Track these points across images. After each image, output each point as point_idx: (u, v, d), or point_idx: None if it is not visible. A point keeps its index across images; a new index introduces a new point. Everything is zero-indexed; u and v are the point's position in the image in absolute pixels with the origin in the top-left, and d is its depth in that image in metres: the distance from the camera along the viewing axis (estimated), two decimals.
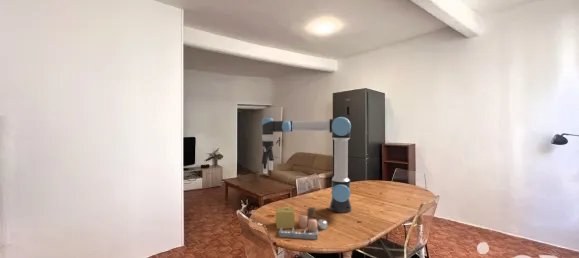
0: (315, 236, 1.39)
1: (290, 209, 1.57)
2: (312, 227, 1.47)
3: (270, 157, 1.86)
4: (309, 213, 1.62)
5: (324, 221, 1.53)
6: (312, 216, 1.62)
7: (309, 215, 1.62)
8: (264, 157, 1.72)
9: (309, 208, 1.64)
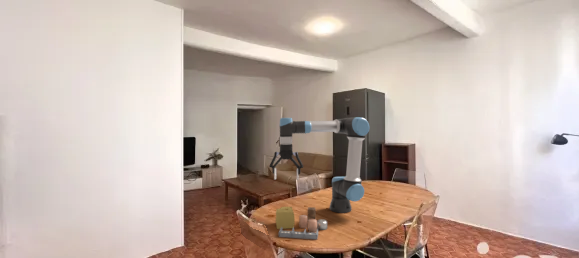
0: (315, 236, 1.39)
1: (290, 209, 1.57)
2: (312, 227, 1.47)
3: None
4: (309, 213, 1.62)
5: (324, 221, 1.53)
6: (312, 216, 1.62)
7: (309, 215, 1.62)
8: (272, 160, 1.58)
9: (309, 208, 1.64)
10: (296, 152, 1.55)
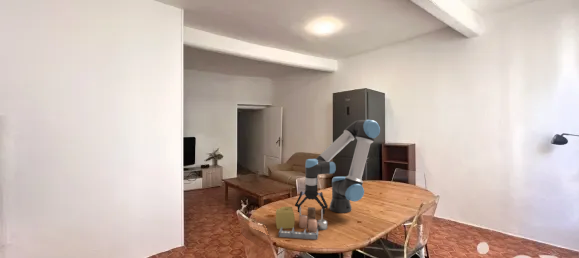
0: (315, 236, 1.39)
1: (290, 209, 1.57)
2: (312, 227, 1.47)
3: None
4: (309, 213, 1.62)
5: (324, 221, 1.53)
6: (312, 216, 1.62)
7: (309, 215, 1.62)
8: (297, 200, 1.65)
9: (309, 208, 1.64)
10: (321, 193, 1.61)
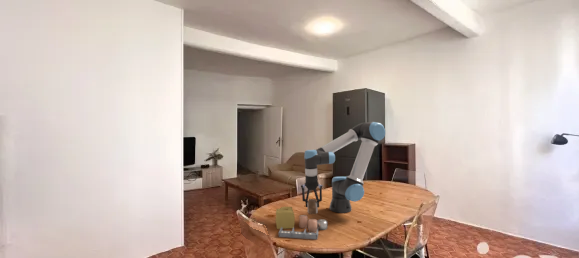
0: (315, 236, 1.39)
1: (290, 209, 1.57)
2: (312, 227, 1.47)
3: (315, 196, 1.63)
4: (310, 205, 1.62)
5: (324, 221, 1.53)
6: (313, 208, 1.62)
7: (310, 207, 1.62)
8: (302, 194, 1.65)
9: (310, 200, 1.64)
10: (321, 186, 1.61)
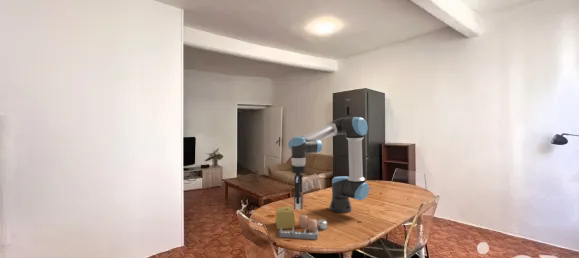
0: (315, 236, 1.39)
1: (290, 209, 1.57)
2: (312, 227, 1.47)
3: (299, 188, 1.46)
4: (302, 198, 1.43)
5: (324, 221, 1.53)
6: (302, 201, 1.45)
7: (302, 200, 1.43)
8: (297, 190, 1.38)
9: None
10: None
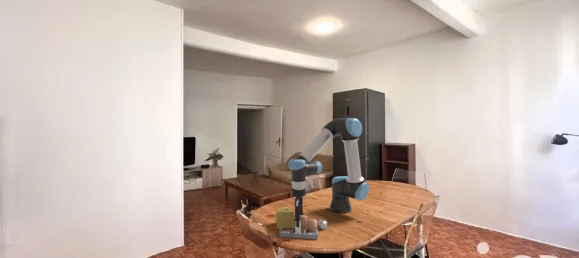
0: (315, 236, 1.39)
1: (290, 209, 1.57)
2: (312, 227, 1.47)
3: (300, 210, 1.48)
4: (302, 224, 1.43)
5: (324, 221, 1.53)
6: None
7: (302, 226, 1.43)
8: (297, 214, 1.38)
9: None
10: None
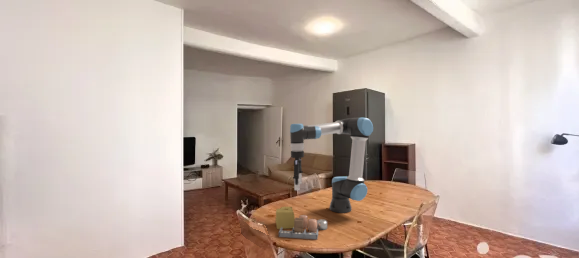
0: (315, 236, 1.39)
1: (290, 209, 1.57)
2: (312, 227, 1.47)
3: (299, 169, 1.58)
4: (302, 224, 1.43)
5: (324, 221, 1.53)
6: None
7: (302, 226, 1.43)
8: (296, 171, 1.44)
9: (298, 220, 1.43)
10: None
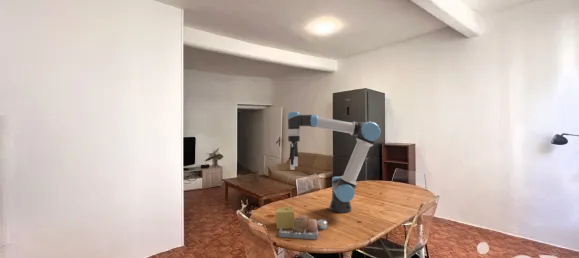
0: (315, 236, 1.39)
1: (290, 209, 1.57)
2: (312, 227, 1.47)
3: (295, 153, 1.78)
4: (302, 224, 1.43)
5: (324, 221, 1.53)
6: None
7: (302, 226, 1.43)
8: (292, 152, 1.64)
9: (298, 220, 1.43)
10: None
